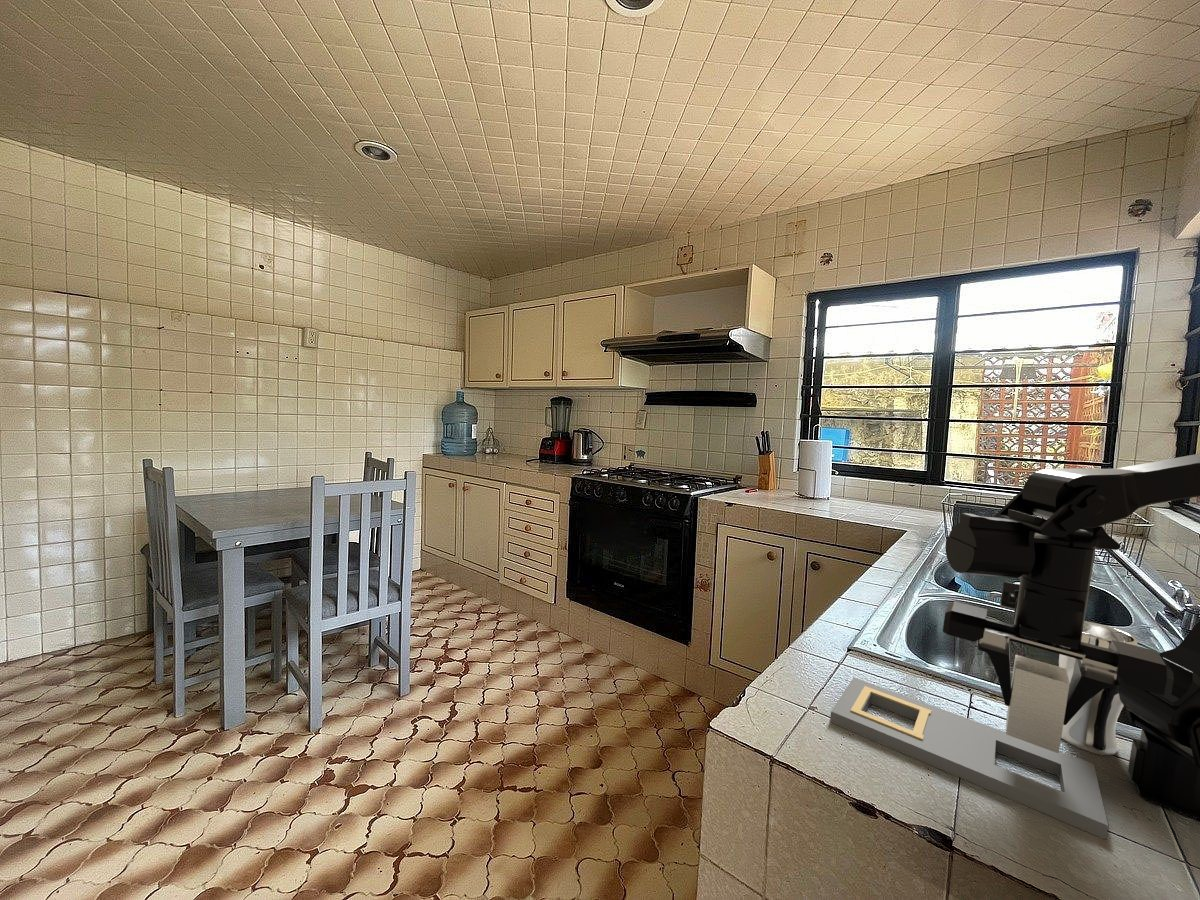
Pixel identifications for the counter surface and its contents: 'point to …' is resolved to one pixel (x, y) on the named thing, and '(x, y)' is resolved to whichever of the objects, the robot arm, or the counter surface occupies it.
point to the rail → (976, 754)
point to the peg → (1037, 703)
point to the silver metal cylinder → (1096, 699)
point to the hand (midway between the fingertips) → (1034, 713)
